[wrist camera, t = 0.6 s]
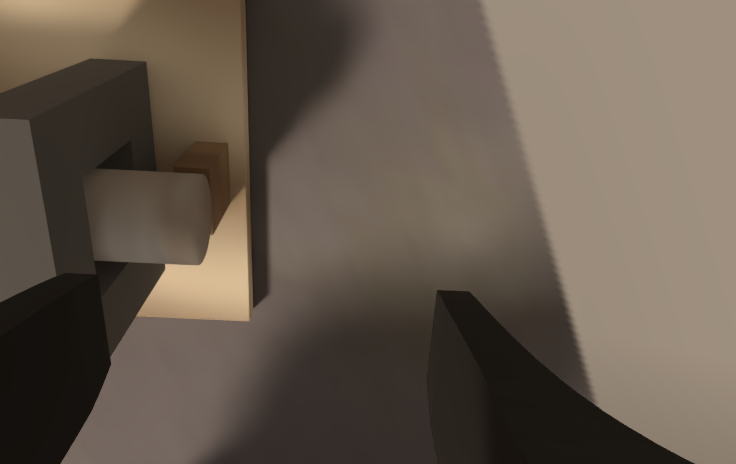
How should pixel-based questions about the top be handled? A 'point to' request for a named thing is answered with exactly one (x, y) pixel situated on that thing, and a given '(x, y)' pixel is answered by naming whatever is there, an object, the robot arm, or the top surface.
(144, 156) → the collar
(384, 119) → the top surface
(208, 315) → the pipe stand
